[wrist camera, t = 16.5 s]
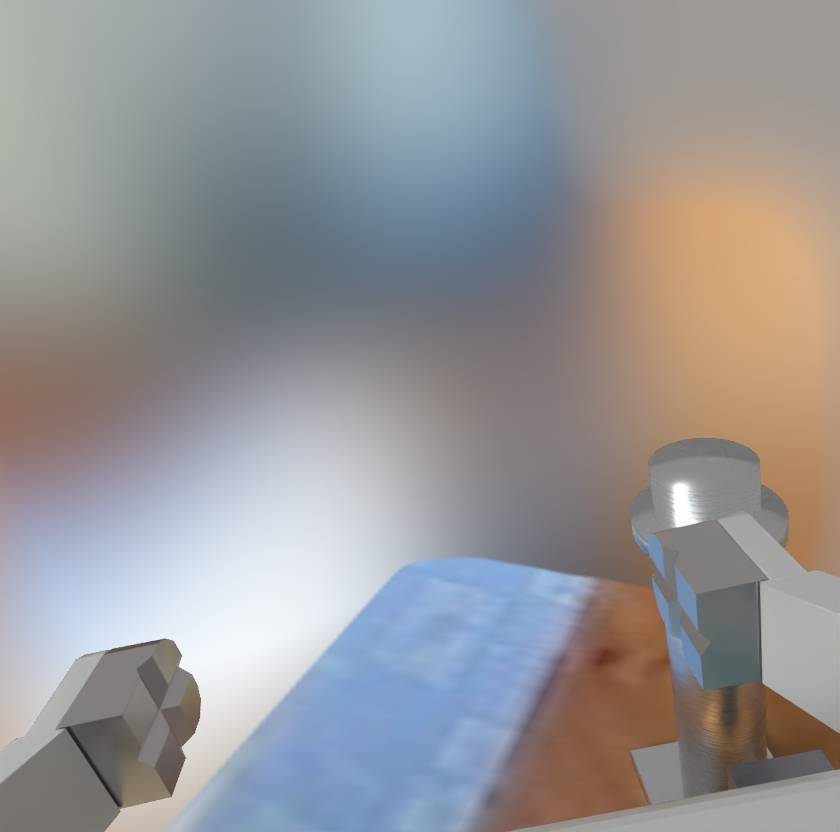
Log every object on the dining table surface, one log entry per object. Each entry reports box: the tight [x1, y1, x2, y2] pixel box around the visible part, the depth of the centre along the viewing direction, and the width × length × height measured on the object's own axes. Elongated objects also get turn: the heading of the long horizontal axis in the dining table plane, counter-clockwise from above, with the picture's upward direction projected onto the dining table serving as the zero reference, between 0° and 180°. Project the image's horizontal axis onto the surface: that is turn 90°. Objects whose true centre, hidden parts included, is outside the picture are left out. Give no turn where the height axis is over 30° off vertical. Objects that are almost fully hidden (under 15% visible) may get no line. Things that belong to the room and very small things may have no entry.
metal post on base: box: [631, 438, 788, 805], centre depth 27 cm, size 16×10×24 cm, turn 2°
